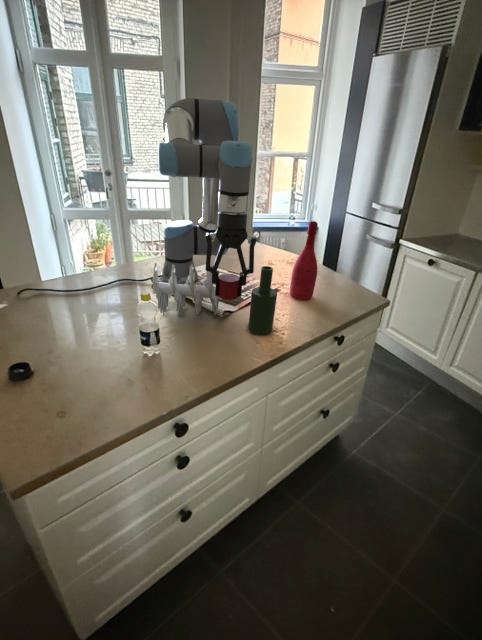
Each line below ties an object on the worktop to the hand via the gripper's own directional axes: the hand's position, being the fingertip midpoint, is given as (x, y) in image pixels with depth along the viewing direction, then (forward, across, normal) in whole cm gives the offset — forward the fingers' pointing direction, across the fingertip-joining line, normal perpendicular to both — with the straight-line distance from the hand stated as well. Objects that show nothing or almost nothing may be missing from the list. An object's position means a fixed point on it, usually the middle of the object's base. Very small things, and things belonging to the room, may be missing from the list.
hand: (228, 294), depth 108 cm
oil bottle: (+18, +12, +11) cm, 24 cm away
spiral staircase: (+18, -13, +21) cm, 31 cm away
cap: (0, 0, 0) cm, 0 cm away
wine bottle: (+18, +31, +40) cm, 54 cm away
